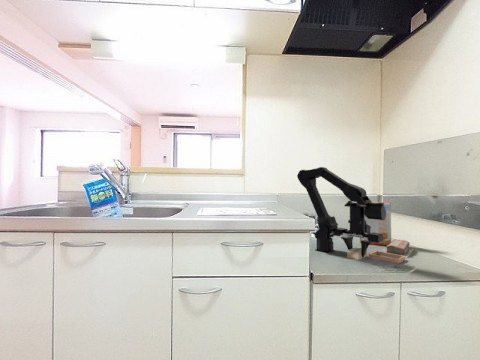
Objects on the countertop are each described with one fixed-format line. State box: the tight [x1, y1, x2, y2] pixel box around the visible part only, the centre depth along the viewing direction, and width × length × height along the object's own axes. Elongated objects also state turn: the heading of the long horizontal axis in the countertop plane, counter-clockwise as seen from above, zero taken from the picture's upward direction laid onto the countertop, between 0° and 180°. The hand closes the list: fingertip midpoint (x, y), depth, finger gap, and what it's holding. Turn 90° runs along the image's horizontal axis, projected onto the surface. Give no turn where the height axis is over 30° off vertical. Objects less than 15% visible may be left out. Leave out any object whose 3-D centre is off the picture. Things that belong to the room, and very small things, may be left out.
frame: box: [369, 250, 406, 265], centre depth 107 cm, size 11×8×2 cm
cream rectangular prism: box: [346, 246, 368, 261], centre depth 110 cm, size 4×8×3 cm, turn 131°
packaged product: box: [381, 239, 415, 259], centre depth 118 cm, size 18×5×10 cm
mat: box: [344, 251, 398, 269], centre depth 108 cm, size 18×15×1 cm
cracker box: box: [359, 201, 392, 247], centre depth 135 cm, size 14×6×21 cm, turn 58°
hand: (357, 255), depth 110 cm, fingers closed on cream rectangular prism, 4 cm apart
